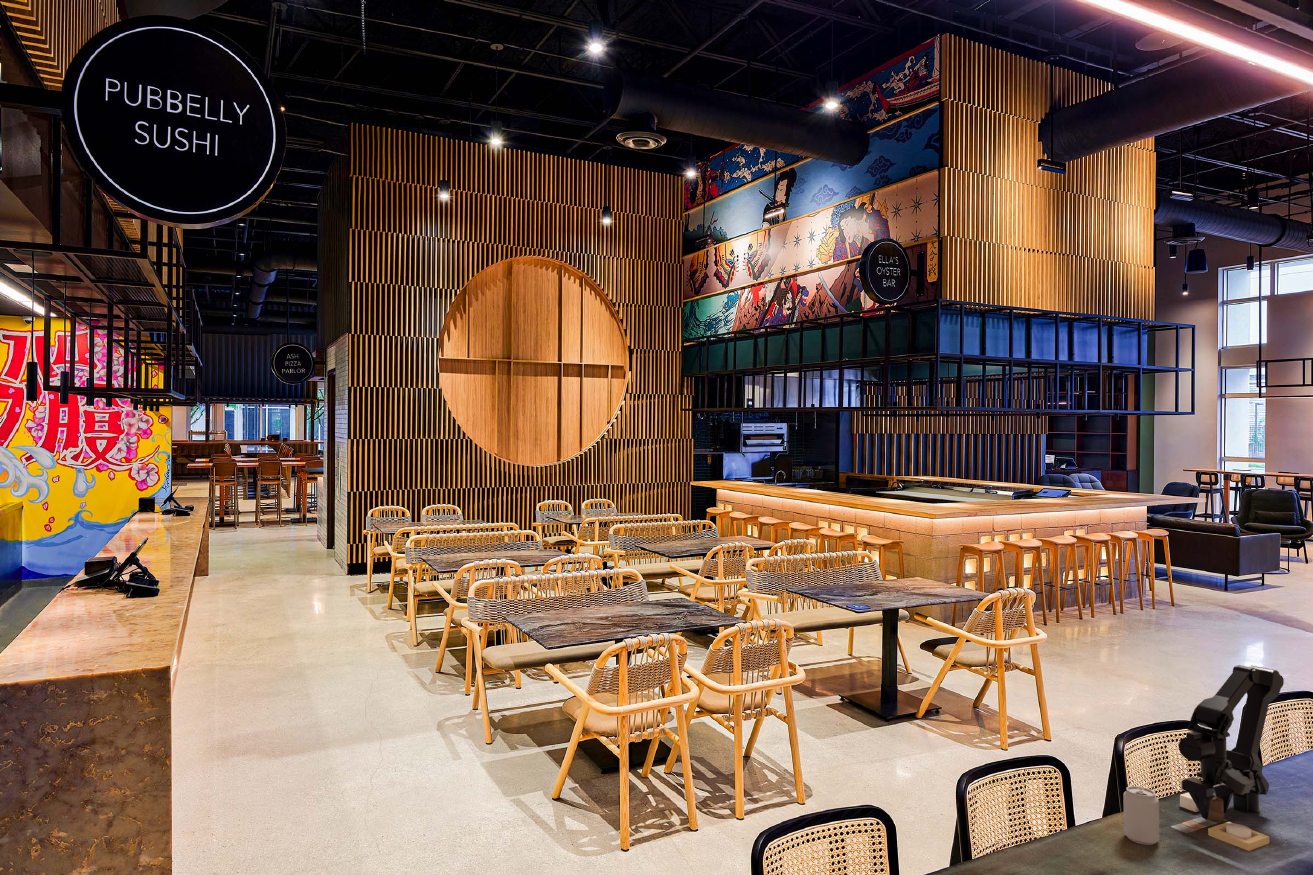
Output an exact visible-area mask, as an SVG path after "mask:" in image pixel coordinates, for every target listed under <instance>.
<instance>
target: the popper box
mask: <svg viewBox="0 0 1313 875" xmlns="http://www.w3.org/2000/svg"><path fill="white" fill-rule="evenodd" d="M1227 823H1232V822H1231V821H1227V822H1223V823H1222V824H1221V823H1220V824H1218V825H1217V824H1216V825H1214V826H1212V827H1209V828H1207V832H1208V833H1207V835H1208V836H1209V837H1211V838H1214V839H1216V840H1219V841H1222V842H1224V843H1227V844H1230V845H1232V846H1235V847H1238V848H1241V849H1243V850H1244V851H1245V850H1246V851H1249V852H1250V851H1252V850H1254V849H1258V848H1260V847H1263V846H1265V845H1268V844H1270V836H1269V835H1266V834H1264V833H1261V832H1259V831H1255V830H1253V829H1251V838H1249V839H1246V840H1244V839H1241V838H1239V837H1236V836H1233V835H1231V834H1228V833H1226V824H1227Z"/></svg>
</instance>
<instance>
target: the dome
mask: <svg viewBox="0 0 1313 875" xmlns="http://www.w3.org/2000/svg"><path fill="white" fill-rule="evenodd" d="M1226 823H1227V822H1226ZM1251 830H1252V829H1251V828H1250V827H1248V826H1246V825H1243V824H1240V823H1234V822H1231V823H1227V824H1226V833H1228V834H1231V835H1233V836H1236V837H1239V838H1241V839H1244V840H1246V839H1249V838H1251Z"/></svg>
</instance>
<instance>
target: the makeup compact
mask: <svg viewBox="0 0 1313 875" xmlns="http://www.w3.org/2000/svg"><path fill="white" fill-rule="evenodd" d="M1225 821H1227V819H1225V818H1224V821H1221V822H1219V821H1213V820H1210V819H1204V818H1202V816H1200V817H1196V818H1193V819H1191V820H1186V821H1184V822H1181V823H1177V824H1174V825H1170V828H1172V829H1174V830H1177V831H1180V832H1183V833H1186V834H1189V833H1191V832H1195V831H1198V830H1200V829H1204V828H1207V827H1210V826H1213V825H1214V826H1215V825H1217V824H1219V823H1220V824H1221V823H1224V822H1225Z"/></svg>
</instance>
